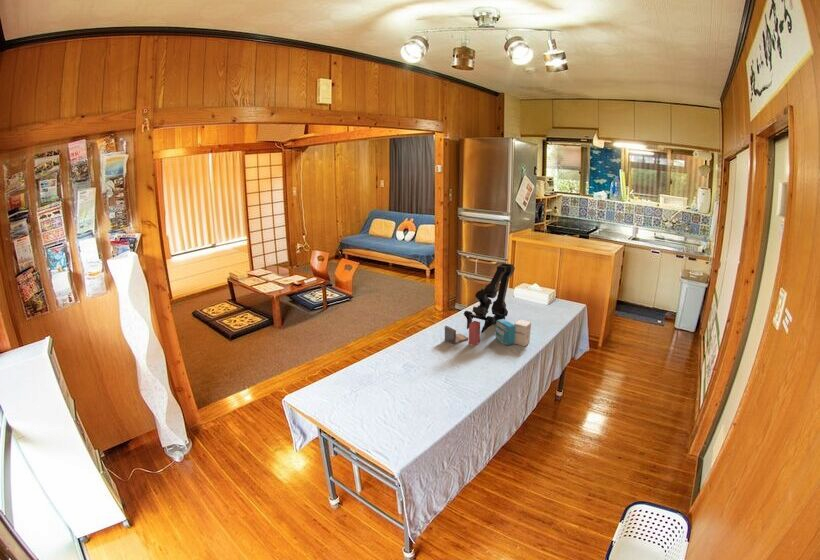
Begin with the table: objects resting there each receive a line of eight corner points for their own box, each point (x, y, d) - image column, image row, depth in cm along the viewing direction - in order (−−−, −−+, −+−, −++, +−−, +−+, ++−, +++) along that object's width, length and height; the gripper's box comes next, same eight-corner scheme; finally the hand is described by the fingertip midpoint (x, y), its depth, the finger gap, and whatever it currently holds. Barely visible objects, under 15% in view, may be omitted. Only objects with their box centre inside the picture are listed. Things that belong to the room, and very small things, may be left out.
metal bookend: (446, 339, 251) (446, 325, 248) (455, 344, 245) (455, 330, 242) (444, 340, 250) (444, 326, 247) (453, 345, 244) (453, 330, 241)
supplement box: (512, 343, 245) (513, 323, 241) (518, 338, 250) (519, 318, 246) (524, 346, 240) (526, 326, 236) (530, 341, 246) (531, 321, 242)
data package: (495, 338, 252) (496, 319, 248) (501, 336, 253) (502, 318, 250) (508, 346, 241) (509, 327, 238) (514, 344, 243) (515, 325, 239)
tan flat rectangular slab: (458, 335, 257) (458, 333, 256) (468, 339, 250) (468, 337, 250) (446, 339, 251) (446, 337, 251) (455, 344, 245) (455, 342, 245)
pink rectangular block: (473, 340, 250) (474, 320, 246) (479, 341, 247) (480, 322, 243) (468, 344, 245) (469, 324, 241) (474, 345, 243) (475, 325, 239)
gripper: (465, 297, 248) (455, 321, 243) (494, 304, 237) (484, 328, 232) (471, 306, 256) (462, 329, 251) (500, 312, 246) (490, 336, 241)
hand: (474, 330), depth 244 cm, fingers open, 9 cm apart
